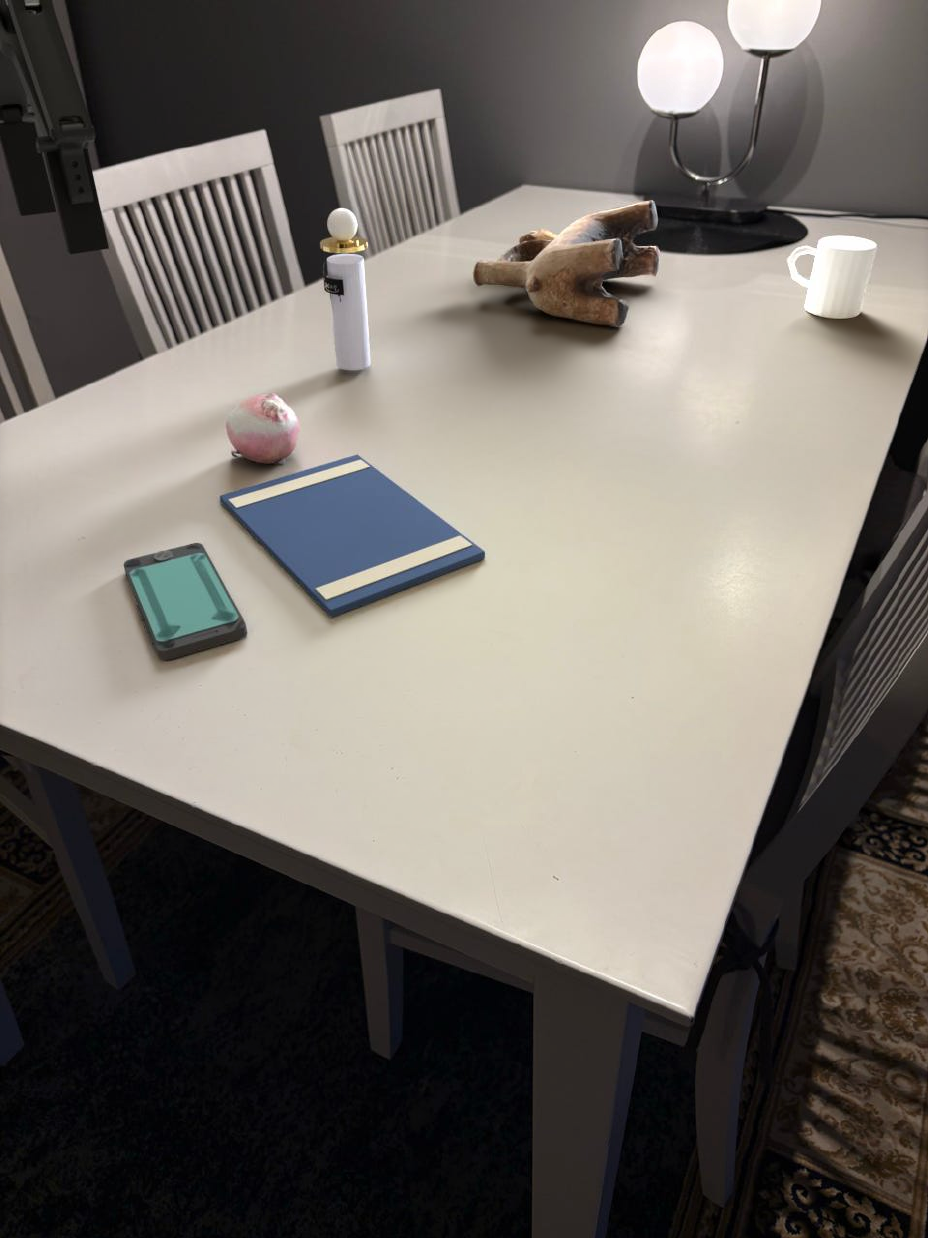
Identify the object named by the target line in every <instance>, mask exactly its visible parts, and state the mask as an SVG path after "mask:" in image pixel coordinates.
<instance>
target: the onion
mask: <svg viewBox="0 0 928 1238" xmlns="http://www.w3.org/2000/svg"><path fill="white" fill-rule="evenodd" d="M225 429H226V434H227V438H228V439H229V441H230V444H231V445H232V448H230V454H231V456H232V457H233V458H236V459H241V457H240V456H239V455H241V456H242V457H244V458H245V459H247V460H250V461H253V462H256V463H261V464H278V465H279V464H280V465H285V460H286V458H288V457H289V456H290V455H291V454H292V453H293V452H294V450H295V448H296V446H297V442H298V438H299V435H300V423H299V420H298V417H297V414H296V413H295V412H294V410H293V409H292V407H291V406H289V404H287V402H285V401H284V400H283V399H282V398H280V397H279V396H278V395H277V394H275V393H273V392H272V393H270V394H268V395H267V394H263V395H262V394H261V395H255V396H252V397H249V398H247V399H245V400H243V401H242V402H240V403H239V404H238V405H236V406H235V407H234V408H233V409H232V411H231V412H230V414H229V415H228V417H227V420H226V425H225Z"/></svg>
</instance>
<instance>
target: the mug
mask: <svg viewBox="0 0 928 1238" xmlns="http://www.w3.org/2000/svg"><path fill="white" fill-rule="evenodd" d="M877 251H878V244H877V243H875V242H874V241H873V240H870V239H867V238H863V237H859V236H853V235H852V236H850V235H830V236H825V237H823V238H821V239H819V240H818V244H817V248H813V247H811V246H808V245H805V246H801V247H797V248H795V250H793V252H792V253H791V254H790V256H788V258H787V259H786V263H787V265H788V270H789V273H790V274H789V275H790V277H791V279H792V280H793V281H795V282H796V283H797V284H799V285H800V286H801V287H805V288H808V289H807V294H806V298H805V302H804V309H805V311H807V312H808V313H810V314H812V315H814V316H816V317H817V316H818V317H820V318H826V319H835V320H844V319H853V318H856V317H858V316H859V315H860V314H861V313H862V308H863V305H864V301H865V297H866V293H867V289H868V286H869V282H870V277H871V274H872V270H873V266H874V262H875V259H876V258H875V257H876V254H877ZM807 254H810V255H812V256H815V257H814V261H813V267H812V270H811V274H810V280H809V279H806V278H805V277H803V276H801V275H800V274H798V270H797V267H796V263H795V262H796V261H797V259H798V258H799V257H800V256H802V255H807Z"/></svg>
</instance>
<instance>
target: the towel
mask: <svg viewBox="0 0 928 1238" xmlns="http://www.w3.org/2000/svg"><path fill="white" fill-rule="evenodd" d="M219 502H220V504H222V505H223V507H224V508H226V509H227V510H228V512H229V513H230V514H231V515H232V516H233V517H234V518H235V519H236V520H237V521H238V522H239V524H241V525H242V526H243V528H245V529H246V530H247V532H249V534H250V535H251V536H252V537H253V538H254V539H255V540H256V541H257V542H258V543H259V544H260V545H261V546H262V547H263V548H264V549H265V550H266V551H267V552H268V553H269V555H270V556H271V557H272V558H273V559H274V560H275V561H276V562H277V563H278V564H279V565H280V567H282V568H283V569H284V570H285V571H286V572H287V573H288V575H290V576H291V577H292V578H293V579H294V580H295V582H296V583H297V584H298V585H299V586H300V587H301V588H302V589H303V590H304V591H305V592H306V593H307V594H308V595H309V596H310V597H311V598H312V599H313V600H314V601H315V603H317V604H318V605H319V606H320V608H321V609H322V610H323V611H325V613H326V614H327V615H328V616H329V618H334V617H337V616H340V615H342V614H345V613H347V612H350V611H353V610H355V609H358V608H360V607H363V606H365V605H368V604H372V603H374V602H376V601H378V600H381V599H384V598H386V597H389V596H391V595H394V594H396V593H399V592H402V591H405V590H408V589H409V588H412V587H415V586H418V585H420V584H422V583H426V582H428V581H430V580H433V579H435V578H438V577H440V576H443V575H445V574H448V573H451V572H453V571H456V570H459V569H461V568H464V567H467V566H469V565H472V564H474V563H477V562H480V561H482V560H485V559H486V551H485V550H484V549H482V548H481V547H480V546H479V545H477V544H475V542H474V541H472V540H471V539H469V538H468V537H467V536H465V535H464V534H463V533H461V532H460V531H459V530H457V529H456V528H455V527H453V526H452V525H451V524H450V523H448V522H447V521H446V520H444V519H443V518H442V517H440V515H438V514H436V513H435V512H434V511H433V510H431V509H430V508H428V506H426V505H424V503H422V502H420V501H419V500H418V499H417V498H415V497H414V496H413V495H411V494H410V493H409V492H408V491H406V490H405V489H404V488H402V487H401V486H399V485H398V484H397V483H396V482H395V481H393V480H391V479H390V478H389V477H387V475H386V474H384V473H383V472H381V471H380V470H379V469H377V468H376V467H374V466H373V465H372V464H371V463H369V462H368V461H367V460H365V459H364V458H363V457H362V456H360V455H359V454H354V455H351V456H347V457H343V458H340V459H338V460H334V461H330V462H328V463H323V464H319V465H318V466H314V467H310V468H307V469H303V470H301V471H297V472H294V473H290V474H287V475H284V476H280V477H276V478H273V479H271V480H267V481H264V482H260V483H257V484H254V485H250V486H247V487H244V488H240V489H237V490H233V491H231V492H227V493H223V494H220V495H219Z"/></svg>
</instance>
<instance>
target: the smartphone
mask: <svg viewBox="0 0 928 1238" xmlns="http://www.w3.org/2000/svg"><path fill="white" fill-rule="evenodd" d="M122 566H123V569H124V572H125V575H126V578H127V580H128V583H129V585H130V588H131V590H132V593H133V595H134V598H135V600H136V608H137V611H138V614H139V616H140V619H141V621H142V622H143V626H144V629H145V631H146V634H147V636H148V639H149V641H150V644H151V646H153V647H154V648H155V650H156V653H157V655H158V658H159V659H160V660H162V661H170V660H173V659H177V658H179V657H180V658H181V657H183V656H187V655H190V654H194V653H196V652H200V651H204V650H206V649H210V648H213V647H217V646H220V645H224V644H227V643H230V642H234V641H238V640H240V639H241V640H242V639H243V638H245V637H246V636H247V635H248V628H247V624H246V621H245V619H244V618H243V615H242V614H241V612H240V611H239V609H238V607H237V605H236V603H235V601H234V599H233V598H232V596H231V594H230V592H229V590H228V588H227V587H226V585H225V583H224V581H223V579H222V578H221V576H220V574H219V572H218V571H217V568H216V567H215V566H214V563H213V561H212V559H211V558H210V556H209V554H208V552H207V550H206V548H205V547H204V545H203V544H202V543H201V542H194V543H193V542H192V543H189V544H186V545H181V546H178V547H174V548H170V549H164V550H160V551H157V552H153V553H150V554H146V555H142V556H137V557H133V558H129V559H126V560H125V561H124V562H123V563H122Z"/></svg>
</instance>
